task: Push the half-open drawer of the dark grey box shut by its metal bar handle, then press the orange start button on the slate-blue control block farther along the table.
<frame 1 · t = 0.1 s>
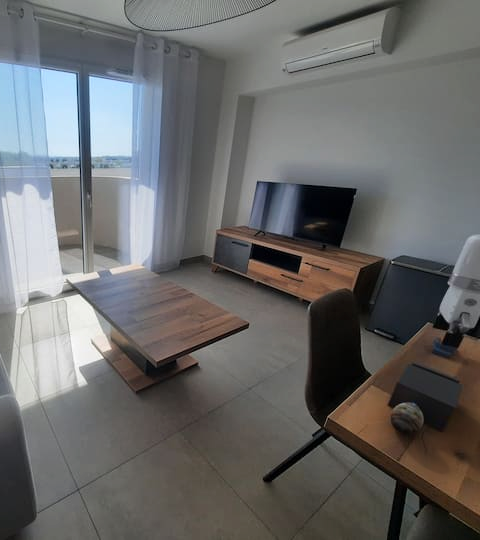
hand: (444, 337, 82), 18 cm above the table, tool pointing down, fingers open, 9 cm apart
start button: (447, 341, 103), point 4 cm above the table, slide at 0.1 cm
seashell: (401, 429, 75), on the table
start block: (442, 350, 105), on the table
drawer: (428, 384, 84), point 4 cm above the table, slide at 3.0 cm
dark grey box: (418, 406, 82), on the table
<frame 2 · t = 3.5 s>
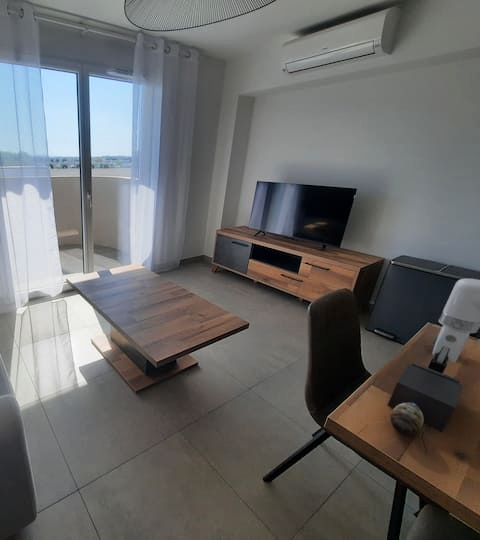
hand: (434, 372, 89), 4 cm above the table, tool pointing down, fingers closed
drawer: (428, 385, 84), point 4 cm above the table, slide at 2.4 cm, touching gripper
everything else where it was.
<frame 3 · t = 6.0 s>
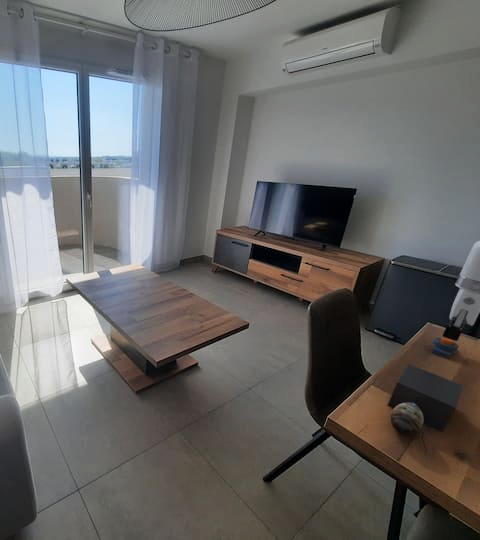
hand: (449, 337, 89), 14 cm above the table, tool pointing down, fingers closed
drawer: (426, 389, 82), point 4 cm above the table, slide at 0.0 cm, touching dark grey box
everything else where it was.
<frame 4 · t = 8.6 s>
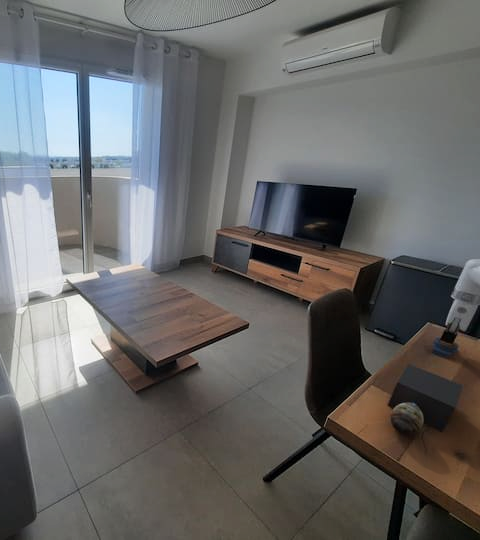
hand: (446, 341, 104), 4 cm above the table, tool pointing down, fingers closed
start button: (445, 343, 104), point 3 cm above the table, slide at -0.9 cm, touching gripper
everything else where it was.
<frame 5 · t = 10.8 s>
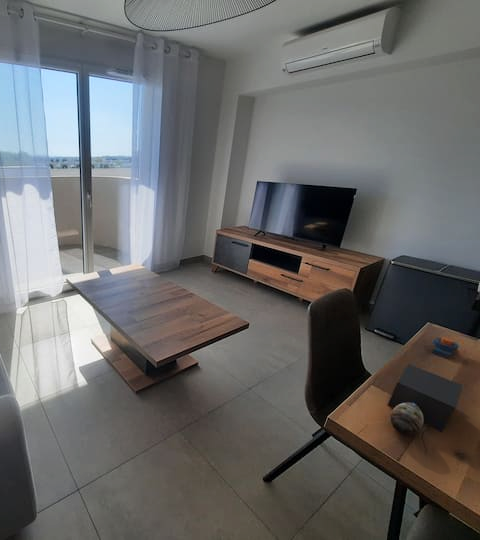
hand: (478, 310, 95), 18 cm above the table, tool pointing down, fingers closed
start button: (447, 341, 103), point 4 cm above the table, slide at 0.1 cm
everything else where it was.
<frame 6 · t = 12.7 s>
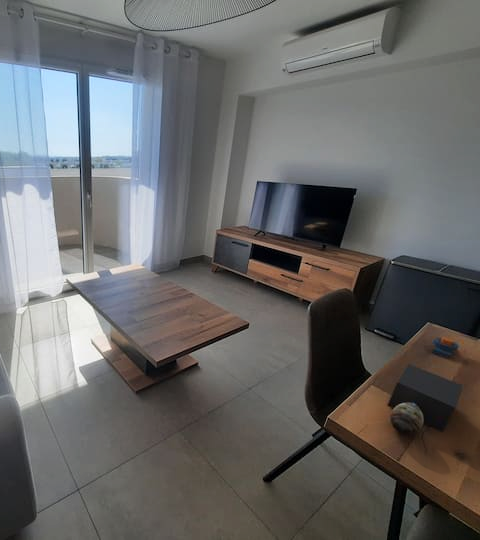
nothing on the table moved.
at the end: drawer slide at 0.0 cm; start button pushed in 1.1 cm at the most during the clip, back to where it started at the end; start button slide at 0.1 cm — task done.
